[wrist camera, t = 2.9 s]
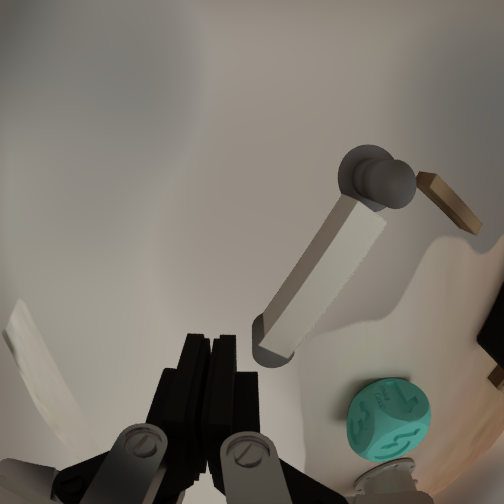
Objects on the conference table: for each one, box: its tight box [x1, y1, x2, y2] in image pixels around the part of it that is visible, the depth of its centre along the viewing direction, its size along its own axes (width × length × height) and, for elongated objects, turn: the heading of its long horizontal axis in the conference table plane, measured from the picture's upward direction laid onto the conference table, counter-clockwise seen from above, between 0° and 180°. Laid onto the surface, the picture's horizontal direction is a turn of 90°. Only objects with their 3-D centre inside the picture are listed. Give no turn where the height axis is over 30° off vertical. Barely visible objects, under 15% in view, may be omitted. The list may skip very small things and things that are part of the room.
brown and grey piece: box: [338, 145, 482, 235], centre depth 22 cm, size 15×7×5 cm, turn 59°
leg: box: [252, 194, 387, 368], centre depth 24 cm, size 16×4×4 cm, turn 149°
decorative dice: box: [347, 378, 431, 462], centre depth 29 cm, size 8×8×8 cm
